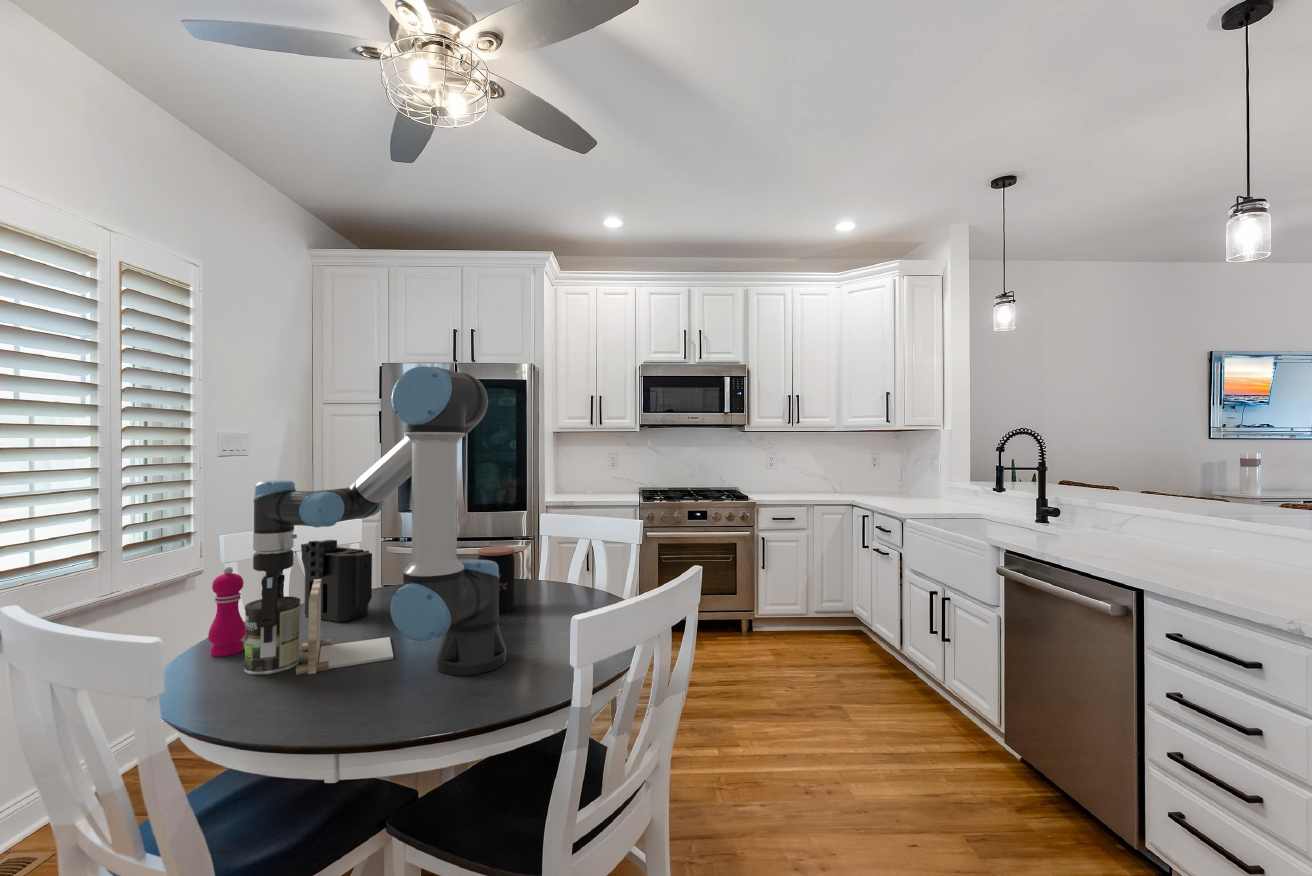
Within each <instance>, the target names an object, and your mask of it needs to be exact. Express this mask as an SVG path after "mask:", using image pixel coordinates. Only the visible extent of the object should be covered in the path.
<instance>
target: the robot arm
mask: <svg viewBox="0 0 1312 876" xmlns="http://www.w3.org/2000/svg"><path fill="white" fill-rule="evenodd" d="M391 393H392V394H391V406H392V410H393V412H394V414H395V415H396V416H397V418H398V419H399V420H400V421H401V422H403V434H404V437H403V438H402V439H401V440H400V441H399V442H397V443H396V445H394V446H393V447H392V448H391V449H390V450H389V451H388V452H386V453H385V454H384V455H383V456H382V457H381V458H380V459H378V460H377V462H375V463H374V464H373V465H372V466H371V467H370V468H368V469H367V471H365V472H364V473H363V474H362V475H361V476H360V477H359V478H357V479H356V480H355V481H354V482H353V483H351V485H349V486H348V487H344V488H343V487H342V488H334V489H323V490H322V489H321V490H309V491H308V490H297V489H296V484H295V482H294V481H292V480H264V481H262V480H261V481H258V483H256V485H255V486H254V487H255V488H254V498H253V534H252V535H253V536H252V537H253V538H252V549H253V551H255V552H254V554H252V555H253V556H252V569H253V570H254V571H258V572H265V575H264V576H263V578H262V579H261V582H260V584H261V587H262V588H261V599H262V604H261V617H260V623H259V624H257V628H261V644H260V658H266V657H274V656H276V625H277V624H276V611H277V601H278V597H285V596H284V595H285V594H284V587H285V586H284V585H285V579H286V577H285V576H286V575H285V574H284V570H287V569H290V568H292V567H293V566H294V557H295V556H294V550H292V549H293V548H294V546H295V545H294V542H295V541H294V539H295V540H296V539H297V538H298V535H297V534H296V533H294V530H295V526H305V527H312V528H323V527H333V526H335V525H336V524H337V523H339V522H344V521H350V520H351V521H352V520H356V519H357V520H358V519H361V520H362V519H366V518H369V517H372V516H373V517H374V516H375V515H377V514H378V513H380V511H381V510H382V508H383V505H384V500H385V499H387V497H388V496H389V495H391V494H392V493H393V492H395V490H397V489H398V488H399V487H400V486H401V485H402V484H404V483H405V482H406V481H407V480H409V478H410V477H411V559H410V563H409V564H408V565H407V566H406V567H405V568H404V569H403V572H402V573H403V574H402V575H403V576H402V577H403V578H402V586H401V587H399V588H398V589H397V590H396V592H395V593H394V594H393V595H392V597H391V601H390V605H389V606H390V607H389V610H390V617H391V620H392V622H393V624H394V625H395V627H396V629H397V630H399V631H400V632H401V634H402V635H403V636H405V637H406V638H408V639H410V640H412V641H416V642H428V641H430V640H433V639H436V638H437V639H438V638H440V637H442V638H441V641H440V644H439V646H438V649H437V652H436V656H435V668H436V670H437V671H438V672H440V673H443V674H446V675H451V676H469V675H470V676H471V675H472V676H473V675H479V674H484V673H487V672H490V671H493V670H496V669H498V668H500V667H501V666H503V665H504V664H505V663H506V662H507V647H506V645H505V641H504V638H503V636H502V633H501V629H500V625H499V621H500V619H499V618H500V617H499V616H500V614H499V579H500V576H499V567H498V564H497V563H496V562H494V561H489V560H478V559H473V558H472V559H471V558H469V559H458V555H457V554H458V552H457V550H458V546H457V545H458V544H457V543H458V537H457V536H458V535H457V534H458V526H457V525H458V522H457V521H458V504H457V503H458V443H459V441H460V440H461V439H463V438H464V437H465V436H466V435H467V434H468V433H470V432H471V431H472V430H473V429H474V428H475V427H476V426H478V425H479V423H480V422H481V421H482V420H483V418H484V417H485V415H486V413H487V410H488V407H489V406H488V405H489V397H488V393H487V390H486V388H485V386H484V385H483V383H482V382H481V381H480V380H479V379H477V377H474V375H471V374H470V373H469V374H468V373H464V372H459V371H454V370H451V369H445V368H442V367H438V366H427V365H421V366H420V365H419V366H414V367H412V368H410V369H408V370H406V371H405V372H403V374H402V376H401V377H399V378H398V379H397V381H396V382H395V384H394V386H393V388H392V392H391ZM267 619H271V620H267ZM275 624H276V625H275Z"/></svg>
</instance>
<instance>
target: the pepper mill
mask: <svg viewBox="0 0 1312 876" xmlns="http://www.w3.org/2000/svg"><path fill="white" fill-rule="evenodd" d="M233 571H234V570H233V568H232V567H231V566H227V567H225V568H224V569H223V574H220V575H217V577H216V578H214V579H213V582H212V585H211V589H212V592H213V593H215V595H214V603H216V614H215V617H214V619H213V621H212V624H211V625H210V627H209V630H208V634H207V638H208V641H209V642H211V644H213V645H212V646H210V656H212V657H218V658H219V657H220V658H221V657H227V656H228V657H229V656H233V655H235V654H239V653H241V652H242V651H244V641H243V640H242V639H243V638H245V622H244V620H243V618H242V616H241V614H240V609H239V600H241V599H242V597H241V595H242V593H241V592H240V591H241V590H243V589H242V588H244V579H243V577H242V576H241V575H240V574H237V573H233Z"/></svg>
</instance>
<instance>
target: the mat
mask: <svg viewBox="0 0 1312 876" xmlns="http://www.w3.org/2000/svg"><path fill="white" fill-rule="evenodd" d="M389 660H394V653H393V647H392V643H391V637H390V636H386V637H378V638H374V639H373V638H372V639H364V640H358V641H351V642H341V643H336V644H334V643H333V644H331V645H327V646H321V649H320V651H319V657H318V662H324V661H329V665H328V670H330V669H337V668H342V667H343V668H344V667H349V666H356V665H357V666H358V665H363V664H369V663H374V662H375V663H376V662H381V661H382V662H383V661H389Z"/></svg>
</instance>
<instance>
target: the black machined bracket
mask: <svg viewBox="0 0 1312 876" xmlns="http://www.w3.org/2000/svg"><path fill="white" fill-rule="evenodd" d="M300 547H301V548H300V549H301V562H302V564H303V570H304V613H303V614H304V615H305V617H308V618H309V596H310V593H311V589H312V585H313V582H314V580H316V579H321V620H323V621H330V622H334V623H348V622H351V621H354V620H357V619H360V618H362V617H364V618H365V617H367V616H368V615H369V610H370V609H369V608H370V607H369V605H370V602H371V599H372V597H373V594H372V593H373V592H372V591H373V590H372V589H373V588H372V587H373V586H372V583H373V553H372V552H370V550H364V549H359V548H349V547H339V546H338V540H337V539H325V540H309V541H308V543H303V544H302V543H301V544H300Z"/></svg>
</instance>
